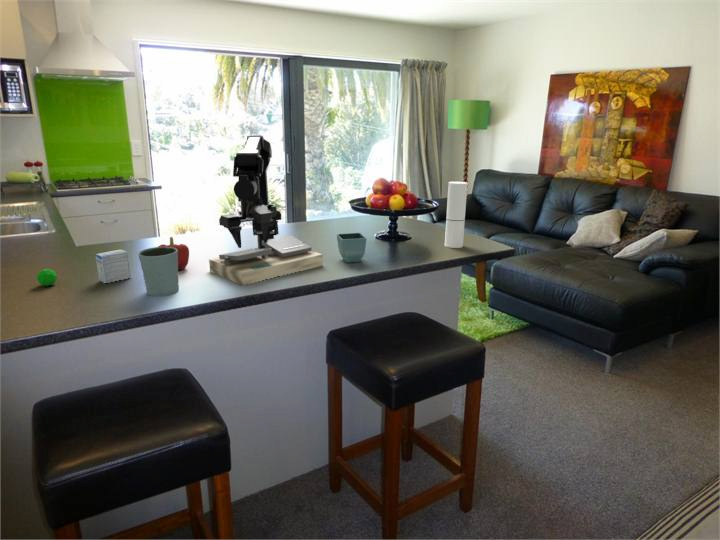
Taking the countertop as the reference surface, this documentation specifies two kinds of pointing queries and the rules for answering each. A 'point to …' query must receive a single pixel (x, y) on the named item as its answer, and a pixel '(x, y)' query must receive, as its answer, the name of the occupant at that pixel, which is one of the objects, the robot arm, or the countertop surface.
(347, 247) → the flower pot
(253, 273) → the switch unit
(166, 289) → the grey-green cup
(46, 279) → the polyhedron
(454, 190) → the white tall block
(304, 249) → the rocker right
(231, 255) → the rocker left
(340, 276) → the countertop surface
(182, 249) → the vegetable
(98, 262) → the medicine box
